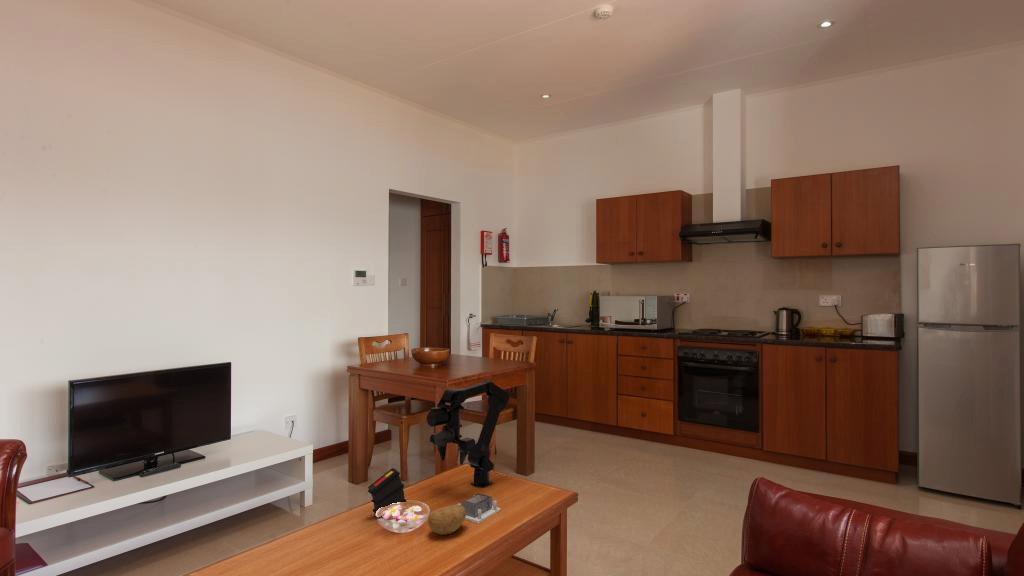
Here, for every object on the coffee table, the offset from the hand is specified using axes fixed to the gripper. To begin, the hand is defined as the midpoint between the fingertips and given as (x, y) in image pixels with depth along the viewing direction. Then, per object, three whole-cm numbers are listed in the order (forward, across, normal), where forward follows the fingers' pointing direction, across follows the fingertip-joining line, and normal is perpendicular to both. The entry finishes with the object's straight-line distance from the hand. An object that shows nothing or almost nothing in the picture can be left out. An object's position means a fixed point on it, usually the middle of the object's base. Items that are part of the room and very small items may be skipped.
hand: (452, 462), depth 204 cm
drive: (+11, +19, -9) cm, 24 cm away
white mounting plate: (+12, +19, -9) cm, 24 cm away
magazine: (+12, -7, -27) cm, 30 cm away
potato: (+12, +20, -26) cm, 35 cm away
